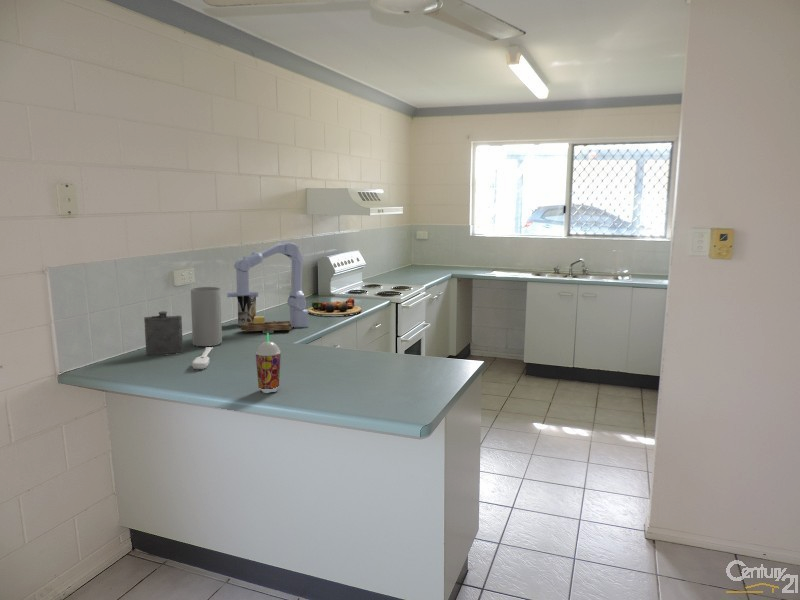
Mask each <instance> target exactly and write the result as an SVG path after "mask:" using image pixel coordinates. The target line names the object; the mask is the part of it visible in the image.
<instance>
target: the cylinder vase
mask: <svg viewBox="0 0 800 600" xmlns="http://www.w3.org/2000/svg"><path fill="white" fill-rule="evenodd" d="M221 291H222V290H221V288H220V287H217V286H198V287H192V288H190V303H191V304H190V306H191V307H190V308H191V309H190V311H191V331H192V332H191V333H192V345H193V346H195V345H196V346H195V347H198V346H209V345H215V344H218V343H221V342H222V343H223V332H222V331H223V330H222V329H223V328H222V298H221V297H222V296H221V295H222V293H221ZM222 343H221V344H222Z"/></svg>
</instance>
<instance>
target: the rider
mask: <svg viewBox="0 0 800 600" xmlns="http://www.w3.org/2000/svg"><path fill="white" fill-rule="evenodd" d="M265 322H266V318H265V316H264V315H263V316H262V315H261V316H259V315H256V316H254V324H264V323H265Z"/></svg>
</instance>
